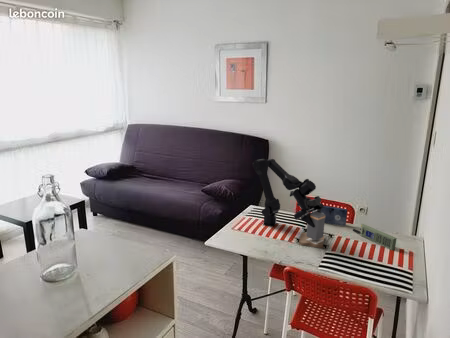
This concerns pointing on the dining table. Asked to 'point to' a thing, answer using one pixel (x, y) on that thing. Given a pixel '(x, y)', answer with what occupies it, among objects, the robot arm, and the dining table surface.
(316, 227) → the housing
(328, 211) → the vhs cassette tape
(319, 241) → the board
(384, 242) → the handheld radio
